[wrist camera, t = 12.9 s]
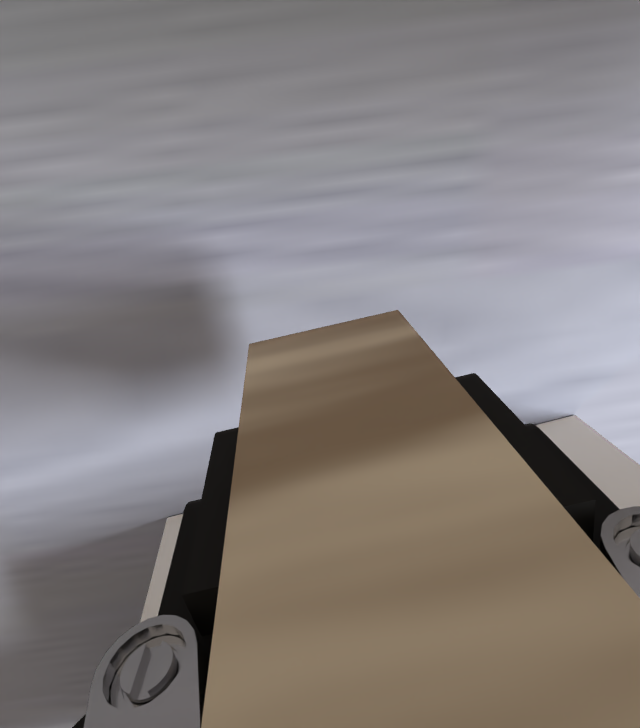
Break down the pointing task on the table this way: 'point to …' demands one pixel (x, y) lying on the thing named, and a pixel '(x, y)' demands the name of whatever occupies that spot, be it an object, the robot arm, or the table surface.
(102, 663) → the robot arm
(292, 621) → the plug
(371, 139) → the table surface
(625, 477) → the socket
